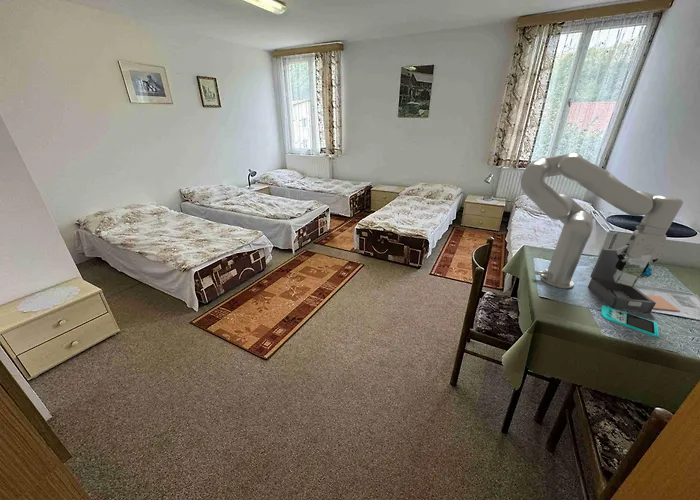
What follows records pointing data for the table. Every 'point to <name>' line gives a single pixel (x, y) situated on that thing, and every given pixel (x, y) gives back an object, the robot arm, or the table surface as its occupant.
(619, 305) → the case
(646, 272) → the gear
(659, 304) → the rubber mat
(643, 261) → the syrup box
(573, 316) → the table surface
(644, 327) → the handheld game console
